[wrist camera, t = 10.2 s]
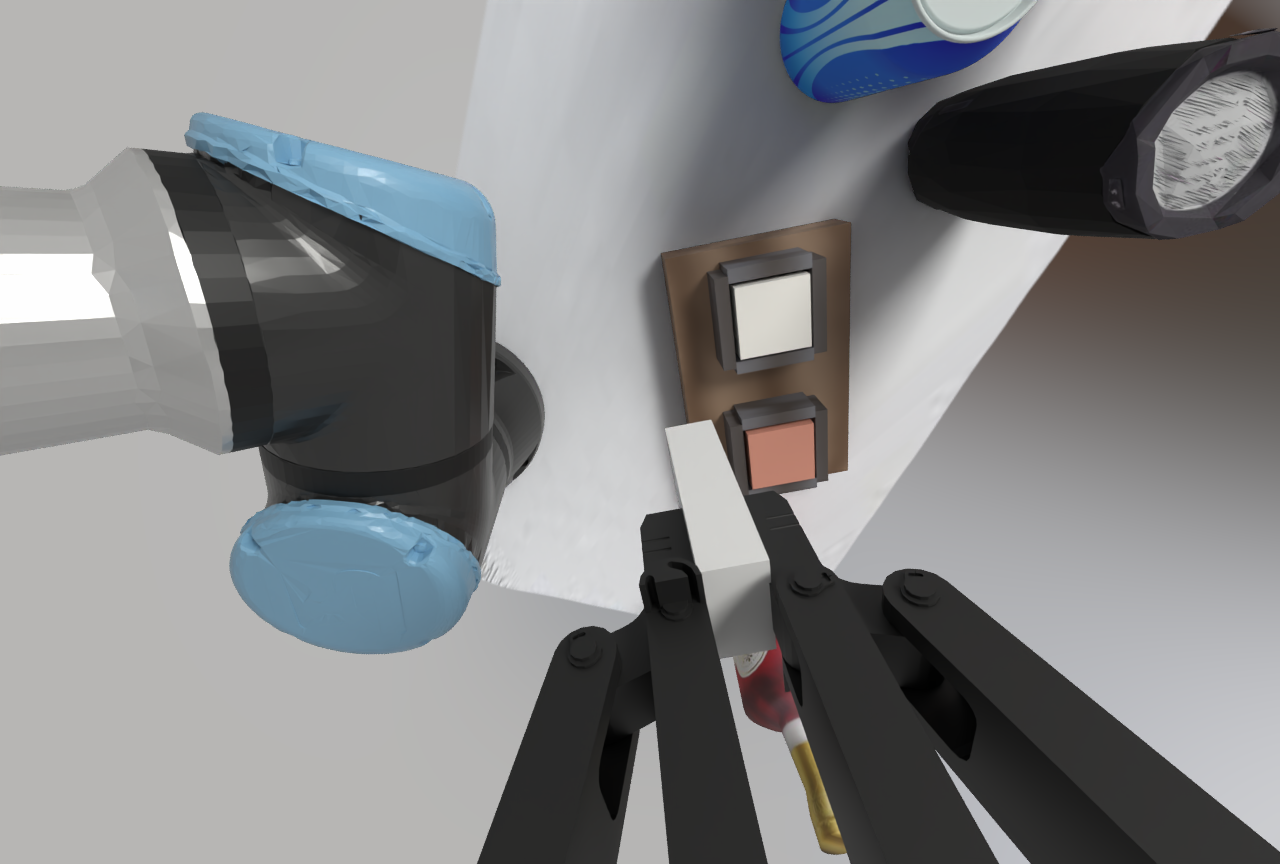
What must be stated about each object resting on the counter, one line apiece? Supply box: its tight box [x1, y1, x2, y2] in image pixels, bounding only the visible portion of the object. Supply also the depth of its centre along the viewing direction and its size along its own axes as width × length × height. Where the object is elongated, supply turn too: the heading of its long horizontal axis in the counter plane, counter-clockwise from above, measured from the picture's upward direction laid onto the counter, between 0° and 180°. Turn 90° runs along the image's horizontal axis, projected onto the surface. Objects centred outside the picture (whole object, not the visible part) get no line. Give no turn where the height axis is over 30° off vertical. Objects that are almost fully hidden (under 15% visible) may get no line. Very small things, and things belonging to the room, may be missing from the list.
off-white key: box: [729, 270, 812, 360], centre depth 38 cm, size 5×5×2 cm
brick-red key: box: [743, 418, 815, 489], centre depth 44 cm, size 5×5×2 cm
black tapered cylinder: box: [908, 28, 1280, 240], centre depth 30 cm, size 9×9×20 cm
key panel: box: [661, 219, 851, 496], centre depth 43 cm, size 14×22×6 cm, turn 10°
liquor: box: [733, 639, 847, 855], centre depth 42 cm, size 7×7×28 cm
